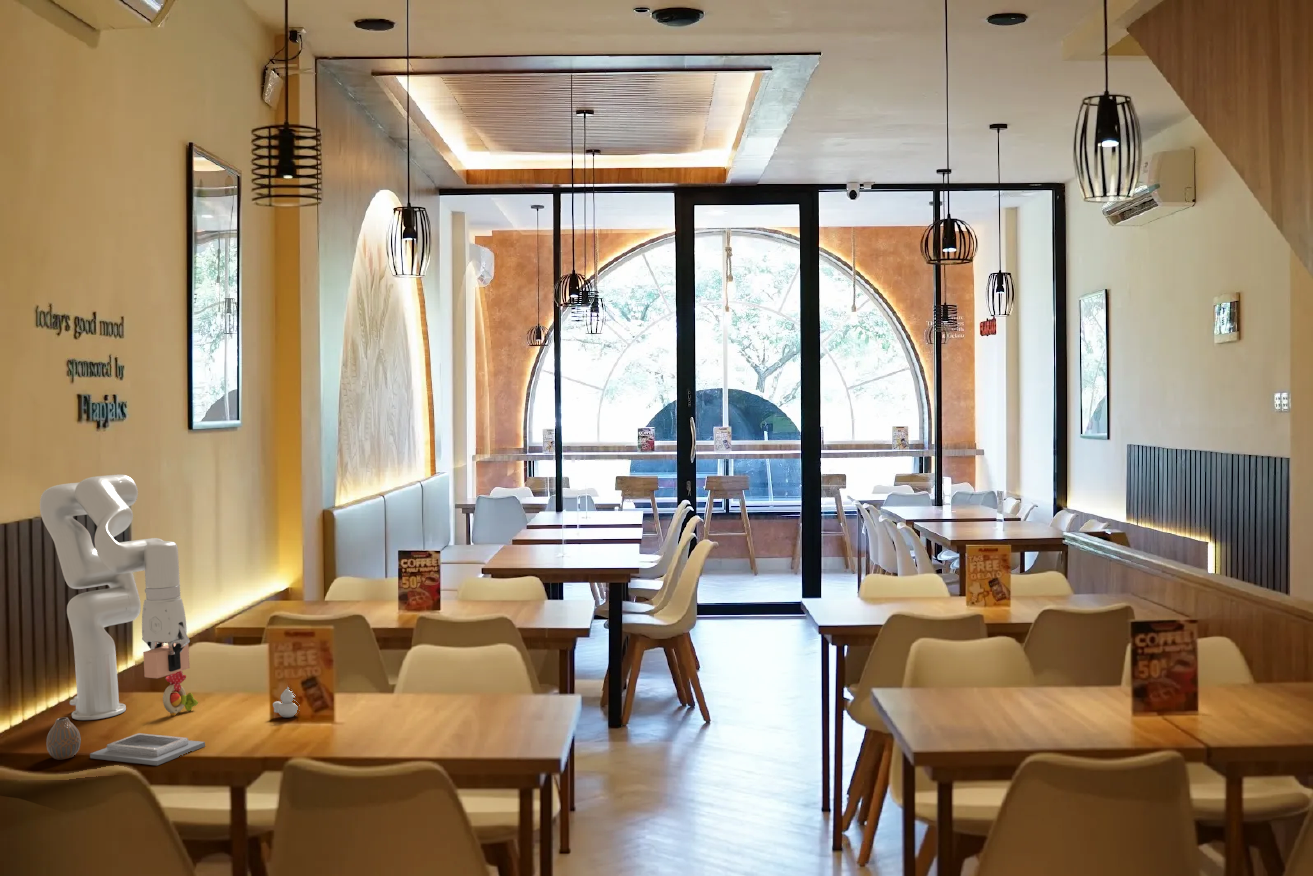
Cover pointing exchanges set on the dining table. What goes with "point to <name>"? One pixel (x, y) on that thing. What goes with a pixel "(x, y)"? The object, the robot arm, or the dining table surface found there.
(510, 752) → the dining table surface
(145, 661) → the keyed block
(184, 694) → the bird rattle
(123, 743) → the board
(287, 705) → the rubber duck
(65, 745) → the vase
